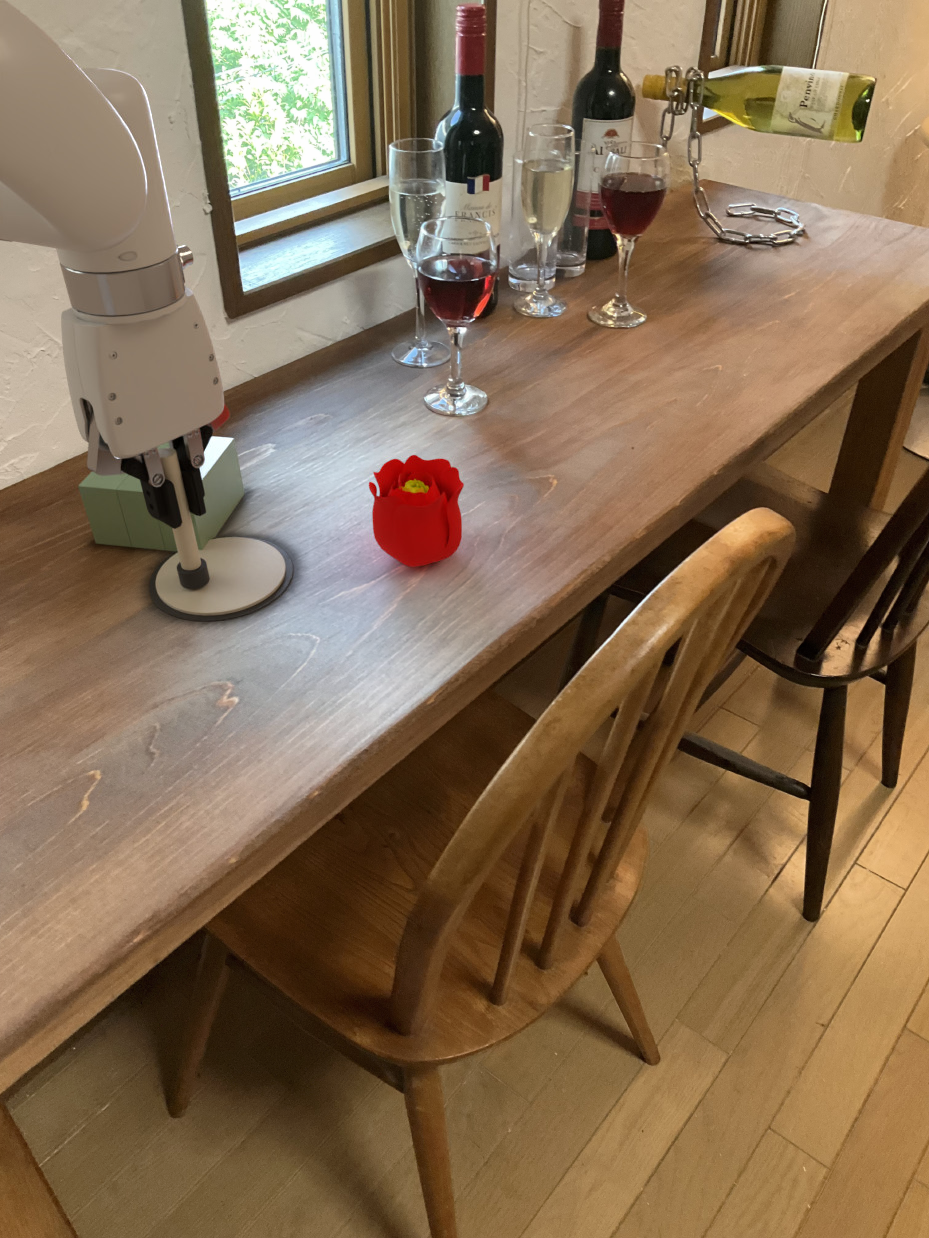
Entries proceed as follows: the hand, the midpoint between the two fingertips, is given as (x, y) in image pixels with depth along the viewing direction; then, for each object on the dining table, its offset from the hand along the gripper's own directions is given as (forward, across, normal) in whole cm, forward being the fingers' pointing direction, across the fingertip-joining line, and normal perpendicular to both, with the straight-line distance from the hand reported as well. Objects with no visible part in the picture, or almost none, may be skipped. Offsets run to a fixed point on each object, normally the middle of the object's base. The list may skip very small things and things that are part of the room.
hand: (179, 514), depth 76 cm
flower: (+7, -16, +11) cm, 21 cm away
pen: (+7, 0, 0) cm, 7 cm away
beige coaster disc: (+7, -2, 0) cm, 8 cm away
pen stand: (+7, -5, -10) cm, 14 cm away
